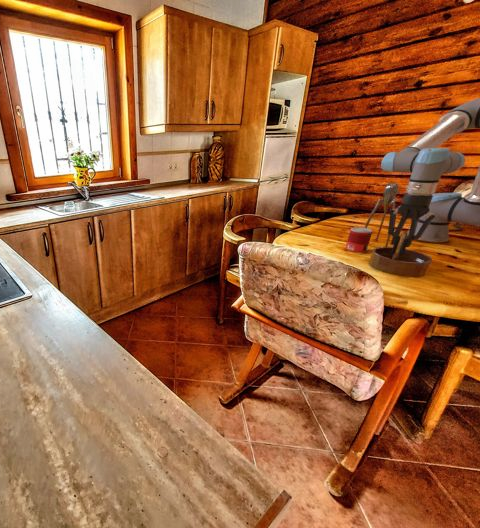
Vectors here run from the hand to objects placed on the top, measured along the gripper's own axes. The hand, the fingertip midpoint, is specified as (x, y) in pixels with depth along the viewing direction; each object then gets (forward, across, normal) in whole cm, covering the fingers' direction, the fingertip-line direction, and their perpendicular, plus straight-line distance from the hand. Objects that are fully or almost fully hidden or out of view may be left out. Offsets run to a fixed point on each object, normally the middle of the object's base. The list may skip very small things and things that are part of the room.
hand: (397, 253), depth 110 cm
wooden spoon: (+6, 0, 0) cm, 6 cm away
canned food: (+8, -17, +13) cm, 23 cm away
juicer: (+8, -17, +30) cm, 36 cm away
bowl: (+8, +1, +3) cm, 8 cm away
